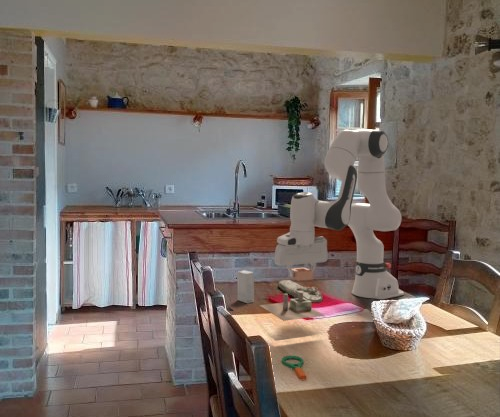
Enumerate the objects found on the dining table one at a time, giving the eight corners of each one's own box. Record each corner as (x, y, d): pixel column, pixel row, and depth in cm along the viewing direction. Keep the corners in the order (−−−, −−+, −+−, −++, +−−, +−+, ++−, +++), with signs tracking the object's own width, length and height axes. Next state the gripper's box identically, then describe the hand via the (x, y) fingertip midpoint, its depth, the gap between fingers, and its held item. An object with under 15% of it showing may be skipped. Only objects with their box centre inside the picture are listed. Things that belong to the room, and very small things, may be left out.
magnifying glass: (279, 360, 156) (280, 354, 156) (300, 358, 157) (300, 353, 157) (292, 382, 141) (292, 375, 141) (314, 380, 142) (314, 374, 142)
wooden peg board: (297, 304, 212) (298, 286, 211) (324, 319, 194) (325, 299, 193) (259, 309, 205) (259, 290, 204) (283, 324, 187) (284, 303, 186)
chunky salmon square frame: (304, 275, 196) (304, 267, 196) (312, 279, 190) (312, 270, 190) (290, 276, 193) (290, 268, 193) (298, 280, 188) (298, 272, 188)
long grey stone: (292, 287, 245) (272, 290, 241) (291, 276, 244) (271, 279, 241) (330, 304, 212) (307, 307, 209) (329, 291, 212) (307, 294, 208)
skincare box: (254, 302, 215) (255, 272, 213) (246, 303, 212) (246, 273, 210) (245, 298, 219) (245, 269, 218) (236, 300, 216) (236, 271, 215)
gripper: (322, 234, 197) (321, 271, 199) (272, 238, 189) (272, 276, 191) (331, 237, 192) (330, 275, 193) (281, 241, 183) (280, 280, 185)
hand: (301, 275), depth 192 cm, fingers closed on chunky salmon square frame, 6 cm apart
